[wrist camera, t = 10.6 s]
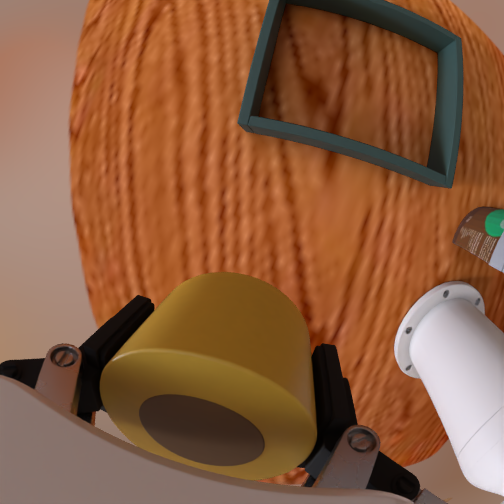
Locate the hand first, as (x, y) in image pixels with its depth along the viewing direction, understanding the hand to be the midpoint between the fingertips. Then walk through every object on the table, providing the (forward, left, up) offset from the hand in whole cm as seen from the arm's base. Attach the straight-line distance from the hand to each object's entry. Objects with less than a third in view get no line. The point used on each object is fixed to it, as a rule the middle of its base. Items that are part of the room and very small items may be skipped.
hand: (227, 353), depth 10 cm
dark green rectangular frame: (-5, -18, -15) cm, 24 cm away
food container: (-23, -9, -15) cm, 29 cm away
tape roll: (0, 0, -1) cm, 1 cm away
